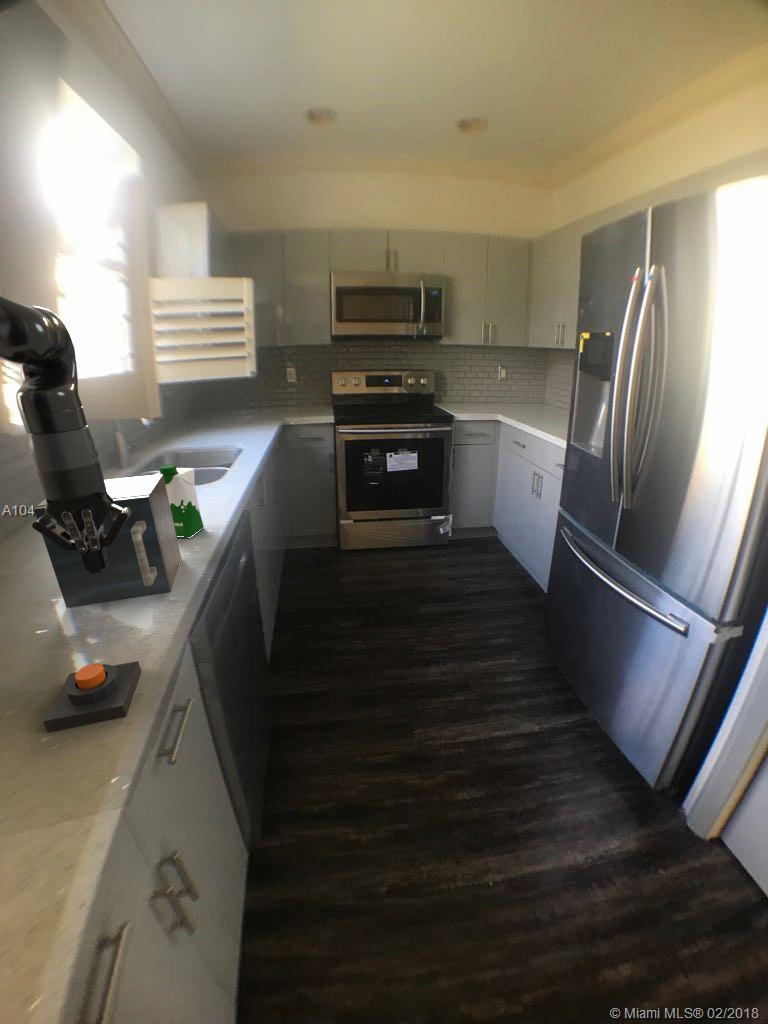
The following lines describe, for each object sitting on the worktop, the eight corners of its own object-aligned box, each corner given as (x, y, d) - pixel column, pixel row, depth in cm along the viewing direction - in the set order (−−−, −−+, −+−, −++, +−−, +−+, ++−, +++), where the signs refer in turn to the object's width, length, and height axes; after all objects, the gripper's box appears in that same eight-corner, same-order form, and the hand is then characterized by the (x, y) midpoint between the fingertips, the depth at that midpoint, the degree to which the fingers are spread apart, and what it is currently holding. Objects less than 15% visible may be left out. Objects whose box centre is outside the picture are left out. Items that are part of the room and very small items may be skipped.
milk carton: (162, 539, 125) (146, 468, 118) (181, 526, 134) (167, 459, 126) (191, 540, 124) (177, 469, 116) (209, 527, 132) (196, 459, 125)
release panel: (47, 733, 64) (39, 711, 62) (73, 684, 73) (66, 664, 71) (126, 717, 66) (119, 695, 64) (141, 671, 75) (136, 651, 74)
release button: (74, 691, 66) (71, 682, 65) (82, 675, 69) (79, 666, 69) (101, 686, 67) (98, 677, 66) (109, 670, 70) (106, 661, 69)
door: (166, 604, 94) (142, 505, 86) (56, 622, 89) (20, 519, 81) (171, 589, 99) (149, 495, 91) (67, 605, 95) (35, 507, 87)
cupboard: (171, 589, 100) (149, 494, 92) (68, 605, 95) (35, 506, 87) (181, 559, 113) (163, 474, 105) (91, 571, 108) (65, 483, 101)
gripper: (-2, 473, 59) (39, 590, 65) (111, 463, 62) (140, 576, 68) (25, 459, 66) (60, 566, 72) (126, 451, 69) (151, 554, 75)
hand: (99, 571), depth 70 cm, fingers closed
